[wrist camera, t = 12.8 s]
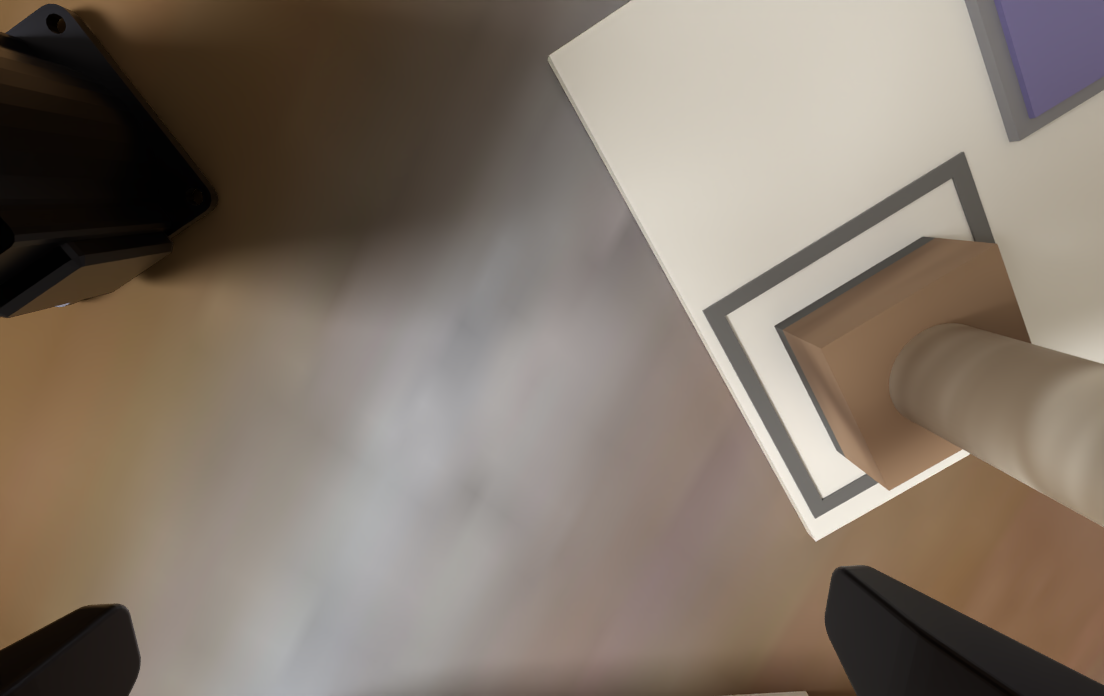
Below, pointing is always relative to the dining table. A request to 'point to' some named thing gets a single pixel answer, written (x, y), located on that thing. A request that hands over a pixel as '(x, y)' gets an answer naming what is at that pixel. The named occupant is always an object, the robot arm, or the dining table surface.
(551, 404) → the dining table surface
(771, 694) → the white box
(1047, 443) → the stamp
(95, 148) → the robot arm
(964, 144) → the stamping board
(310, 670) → the dining table surface
